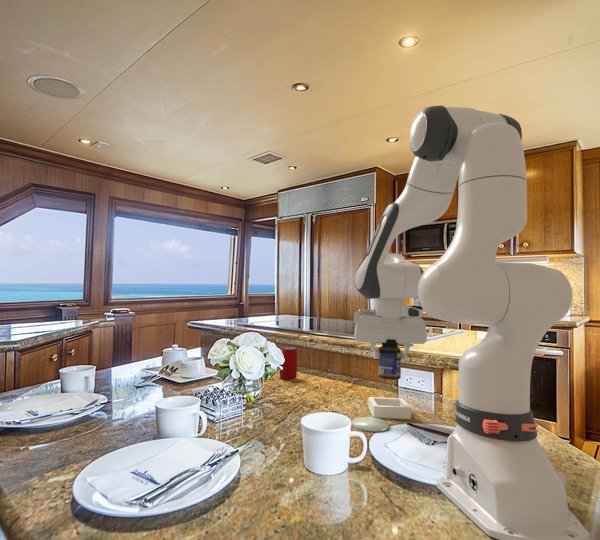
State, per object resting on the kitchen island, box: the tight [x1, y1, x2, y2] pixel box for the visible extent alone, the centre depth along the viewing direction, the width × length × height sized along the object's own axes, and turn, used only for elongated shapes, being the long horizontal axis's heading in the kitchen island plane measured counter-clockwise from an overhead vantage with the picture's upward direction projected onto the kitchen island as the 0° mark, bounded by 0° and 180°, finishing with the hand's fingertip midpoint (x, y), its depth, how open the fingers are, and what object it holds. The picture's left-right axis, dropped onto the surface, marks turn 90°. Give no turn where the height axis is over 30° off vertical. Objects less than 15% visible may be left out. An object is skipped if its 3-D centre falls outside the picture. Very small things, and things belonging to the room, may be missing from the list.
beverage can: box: [279, 346, 298, 380], centre depth 154 cm, size 7×7×12 cm
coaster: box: [351, 416, 389, 433], centre depth 99 cm, size 9×9×1 cm
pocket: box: [367, 396, 412, 420], centre depth 110 cm, size 10×10×3 cm
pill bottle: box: [378, 339, 402, 381], centre depth 111 cm, size 6×6×11 cm
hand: (389, 359), depth 111 cm, fingers closed on pill bottle, 6 cm apart
